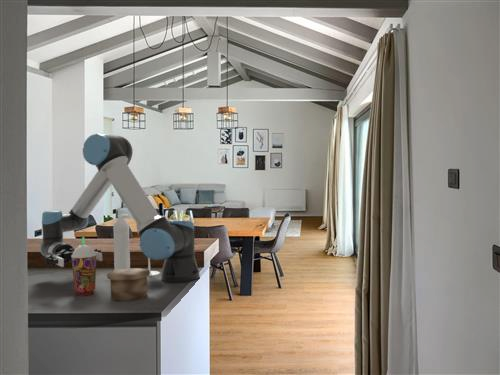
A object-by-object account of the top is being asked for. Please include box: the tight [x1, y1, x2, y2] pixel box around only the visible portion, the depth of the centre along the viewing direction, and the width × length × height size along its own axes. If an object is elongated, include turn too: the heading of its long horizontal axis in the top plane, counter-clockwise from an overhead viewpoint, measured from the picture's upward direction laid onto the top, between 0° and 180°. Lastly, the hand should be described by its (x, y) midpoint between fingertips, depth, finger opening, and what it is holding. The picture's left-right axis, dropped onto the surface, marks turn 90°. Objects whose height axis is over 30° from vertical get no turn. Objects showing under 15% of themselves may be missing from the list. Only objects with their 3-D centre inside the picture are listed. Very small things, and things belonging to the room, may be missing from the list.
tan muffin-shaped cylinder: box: [106, 267, 151, 302], centre depth 153 cm, size 14×14×8 cm
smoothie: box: [71, 236, 97, 296], centre depth 157 cm, size 8×8×20 cm
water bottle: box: [112, 213, 131, 271], centre depth 188 cm, size 9×6×25 cm
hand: (82, 259), depth 157 cm, fingers open, 13 cm apart
